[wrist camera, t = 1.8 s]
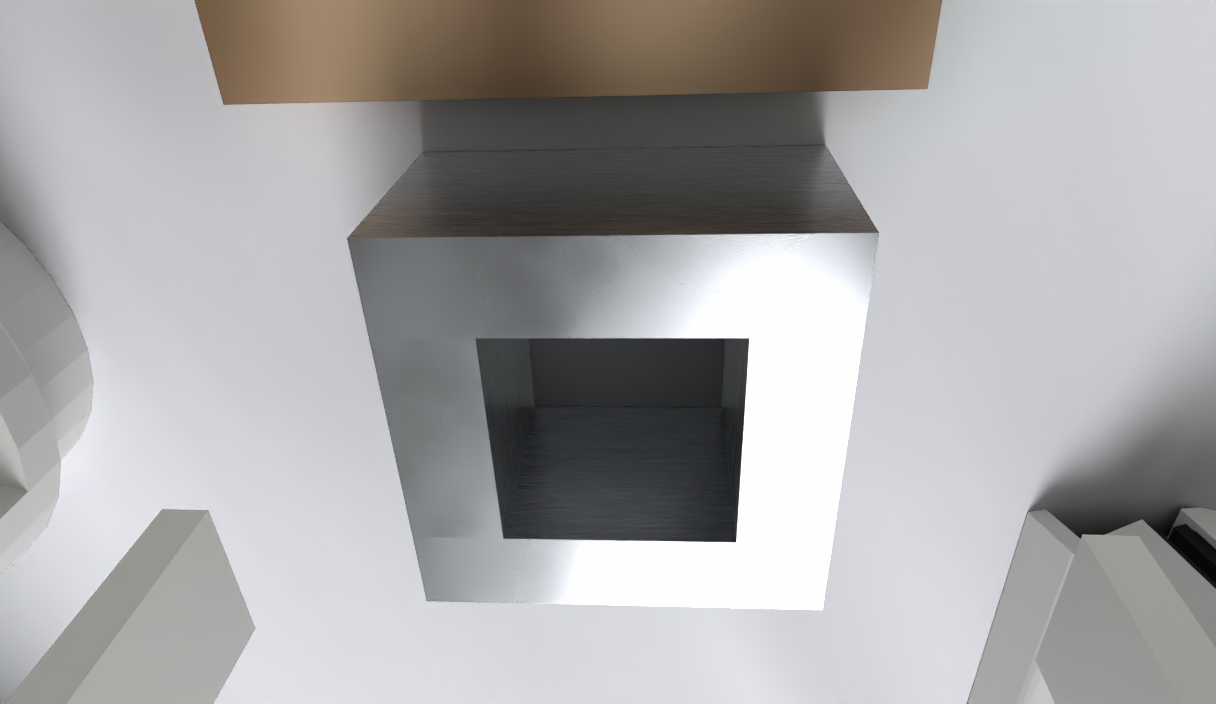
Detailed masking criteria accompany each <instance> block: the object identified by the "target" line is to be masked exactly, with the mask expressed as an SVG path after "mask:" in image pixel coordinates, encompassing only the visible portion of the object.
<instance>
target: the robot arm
mask: <svg viewBox="0 0 1216 704" xmlns="http://www.w3.org/2000/svg"><path fill="white" fill-rule="evenodd" d="M254 630H255V626H254V624H253V621H252V619H251V616H250V614H249V611H248V609H247V606H246V604H245V601H244V599H243V596H242V594H241V591H240V589H239V586H238V584H237V581H236V579H235V576H234V573H233V571H232V568H231V566H230V563H229V561H228V558H227V556H226V553H225V551H224V548H223V546H222V543H221V541H220V538H219V536H218V533H217V531H216V528H215V526H214V523H213V521H212V518H211V516H210V513H209V511H208V510H173V509H162V510H161V511H160V513H159V514H158V515H157V516H156V517H155V519H154V520H153V521H152V522H151V524H150V525H149V526H148V527H147V529H146V530H145V531H144V532H143V534H142V535H141V536H140V537H139V539H138V540H137V541H136V542H135V543H134V545H133V546H132V547H131V548H130V550H129V551H128V552H127V553H126V555H125V556H124V557H123V558H122V560H121V561H120V562H119V563H118V565H117V566H116V567H115V568H114V569H113V571H112V572H111V573H110V574H109V576H108V577H107V578H106V579H105V581H104V582H103V583H102V584H101V586H100V587H99V588H98V589H97V591H96V592H95V593H94V594H93V596H92V597H91V598H90V599H89V600H88V602H87V603H86V604H85V605H84V607H83V608H82V609H81V610H80V612H79V613H78V614H77V615H76V617H75V618H74V619H73V620H72V622H71V623H70V624H69V625H68V626H67V628H66V629H65V630H64V631H63V633H62V634H61V635H60V636H59V638H58V639H57V640H56V641H55V643H54V644H53V645H52V646H51V648H50V649H49V650H48V651H47V652H46V654H45V655H44V656H43V657H42V659H41V660H40V661H39V662H38V664H37V665H36V666H35V667H34V669H33V670H32V671H31V672H30V674H29V675H28V676H27V677H26V678H25V680H24V681H23V682H22V683H21V685H20V686H19V687H18V688H17V690H16V691H15V692H14V693H13V695H12V696H11V697H10V698H9V700H8V701H7V702H6V703H5V704H213V703H214V702H215V700H216V698H217V696H218V694H219V693H220V691H221V689H222V687H223V685H224V684H225V682H226V680H227V678H228V676H229V675H230V673H231V671H232V669H233V667H234V666H235V664H236V662H237V660H238V659H239V657H240V655H241V653H242V651H243V650H244V648H245V646H246V644H247V642H248V641H249V639H250V637H251V635H252V633H253V632H254ZM1035 660H1036V663H1037V665H1038V667H1039V669H1040V672H1041V674H1042V676H1043V678H1044V680H1045V683H1046V685H1047V687H1048V689H1049V692H1050V694H1051V696H1052V698H1053V700H1054V703H1055V704H1216V648H1215V646H1214V645H1213V643H1212V642H1211V640H1210V639H1209V638H1208V636H1207V635H1206V633H1205V632H1204V630H1203V629H1202V627H1201V626H1200V624H1199V623H1198V622H1197V620H1196V619H1195V617H1194V616H1193V614H1192V613H1191V611H1190V610H1189V608H1188V607H1187V606H1186V604H1185V603H1184V601H1183V600H1182V598H1181V597H1180V595H1179V594H1178V592H1177V591H1176V590H1175V588H1174V587H1173V585H1172V584H1171V582H1170V581H1169V579H1168V578H1167V576H1166V575H1165V574H1164V572H1163V571H1162V569H1161V568H1160V566H1159V565H1158V563H1157V562H1156V560H1155V559H1154V558H1153V556H1152V555H1151V553H1150V552H1149V550H1148V549H1147V547H1146V546H1145V545H1144V543H1143V542H1142V540H1141V539H1140V537H1139V536H1121V535H1084V534H1082V537H1081V539H1080V542H1079V545H1078V547H1077V550H1076V553H1075V555H1074V558H1073V561H1072V563H1071V566H1070V569H1069V571H1068V574H1067V577H1066V579H1065V582H1064V585H1063V587H1062V590H1061V593H1060V595H1059V598H1058V601H1057V603H1056V606H1055V609H1054V611H1053V614H1052V617H1051V619H1050V622H1049V625H1048V627H1047V630H1046V633H1045V635H1044V638H1043V641H1042V643H1041V646H1040V649H1039V651H1038V654H1037V657H1036V659H1035Z"/></svg>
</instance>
